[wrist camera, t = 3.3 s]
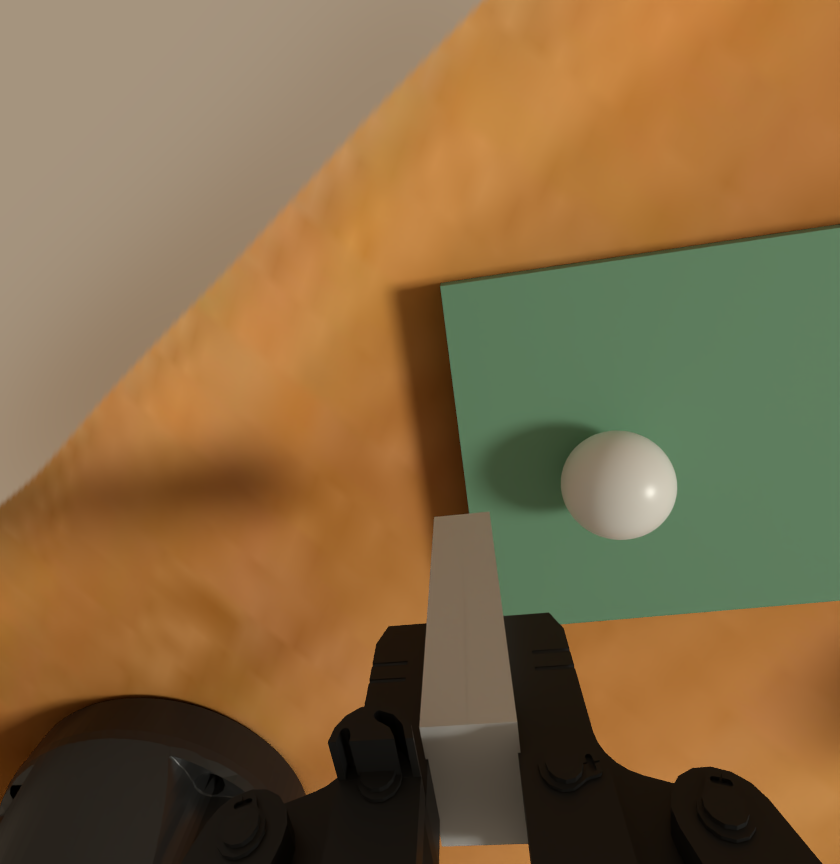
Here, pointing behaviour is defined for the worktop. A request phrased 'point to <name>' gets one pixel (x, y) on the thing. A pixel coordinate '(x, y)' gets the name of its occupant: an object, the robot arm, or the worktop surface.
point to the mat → (659, 422)
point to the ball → (618, 485)
